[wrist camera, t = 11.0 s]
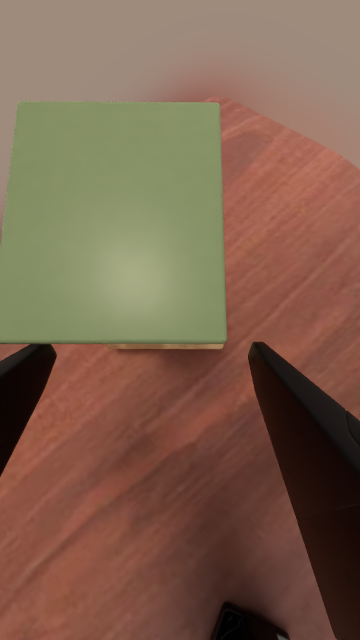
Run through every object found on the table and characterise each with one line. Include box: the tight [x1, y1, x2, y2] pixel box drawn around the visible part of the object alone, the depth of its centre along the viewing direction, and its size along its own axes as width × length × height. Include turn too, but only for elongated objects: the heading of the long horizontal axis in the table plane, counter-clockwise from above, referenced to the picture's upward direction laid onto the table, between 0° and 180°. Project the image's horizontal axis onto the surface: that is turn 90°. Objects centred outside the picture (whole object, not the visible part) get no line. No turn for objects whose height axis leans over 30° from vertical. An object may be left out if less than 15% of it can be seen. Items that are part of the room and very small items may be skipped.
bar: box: [0, 101, 227, 344], centre depth 10 cm, size 5×4×13 cm
